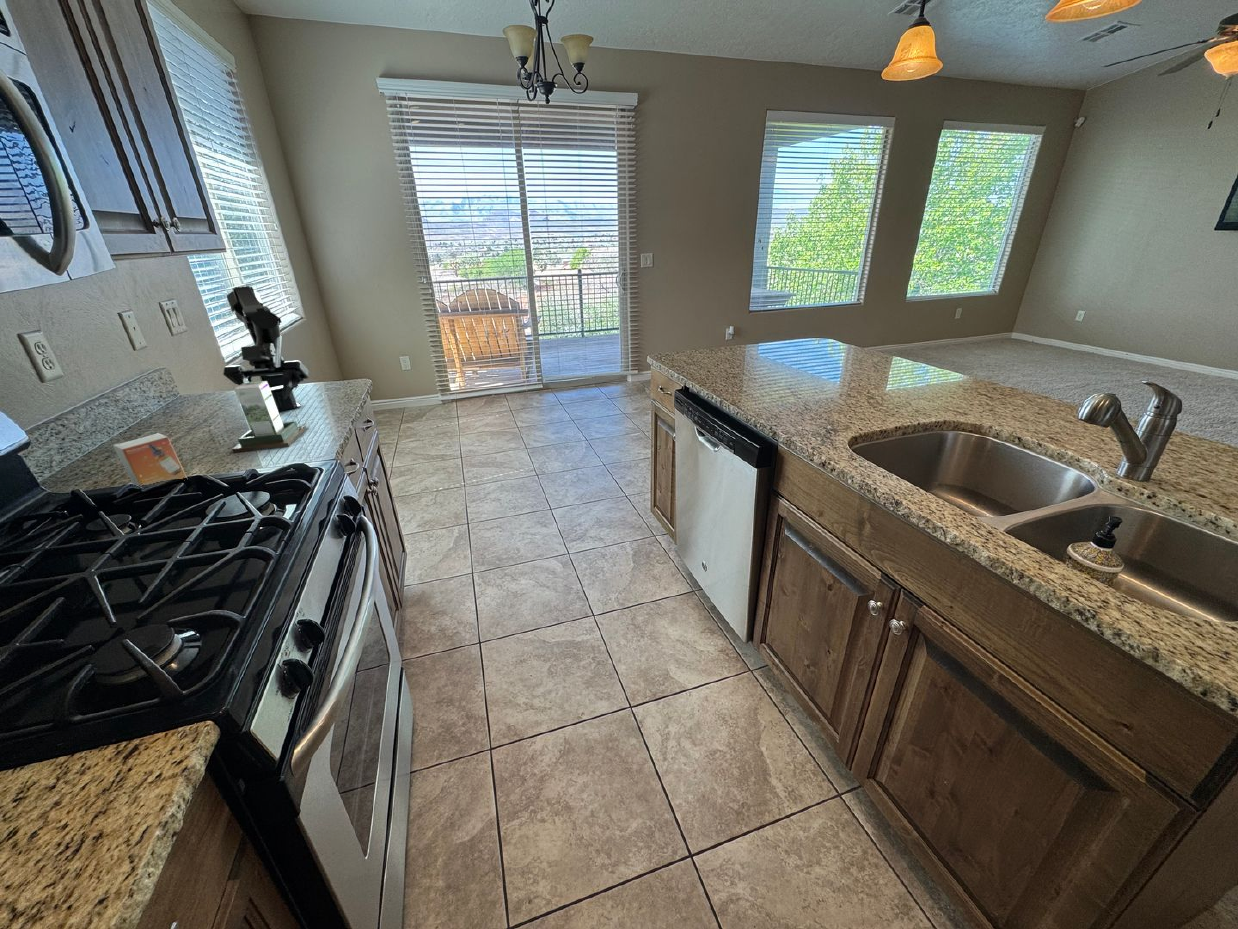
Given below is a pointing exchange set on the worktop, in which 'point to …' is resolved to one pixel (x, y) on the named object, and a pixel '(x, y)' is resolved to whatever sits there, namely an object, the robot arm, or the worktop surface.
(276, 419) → the syrup box
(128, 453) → the small box
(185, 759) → the worktop surface
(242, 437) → the pad
